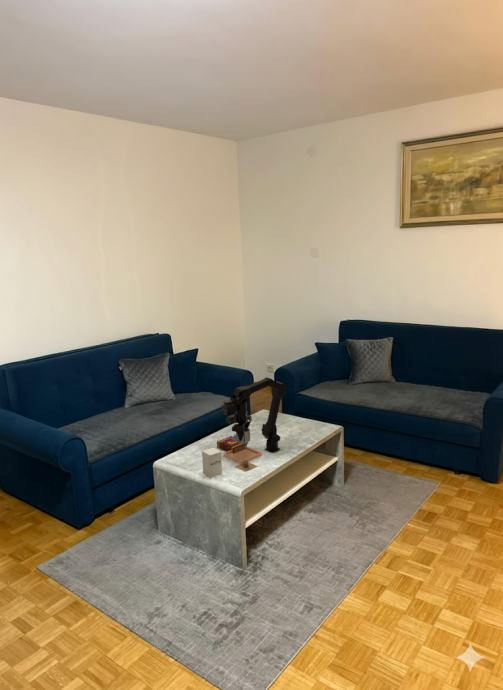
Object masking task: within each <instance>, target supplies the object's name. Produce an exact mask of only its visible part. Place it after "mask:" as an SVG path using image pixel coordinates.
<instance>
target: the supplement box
mask: <svg viewBox="0 0 503 690" xmlns="http://www.w3.org/2000/svg"><path fill="white" fill-rule="evenodd" d="M201 457H202V459H201V460H202V473H203V475H204V476H206V477H208V479H212V478H213V477H216V476H219V475H222V473H223V467H222V466H223V464H222V450H220V449H218V448H215V447H211V448H207V449H205V450H202V451H201Z"/></svg>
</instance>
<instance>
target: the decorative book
mask: <svg viewBox="0 0 503 690" xmlns="http://www.w3.org/2000/svg"><path fill="white" fill-rule="evenodd" d="M248 444H249V442H247V443H239V442H237V441H234V437H233V436H232V435H230V436H229V435H228V436H227V437H226V438H222V439H219V440H217V441H216V449H218V450H219V451H224V452H228V451H230V450H232V453H233V454H234V453H236V452H239V451H241V450H244V449H245V446H247V447H248Z"/></svg>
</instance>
